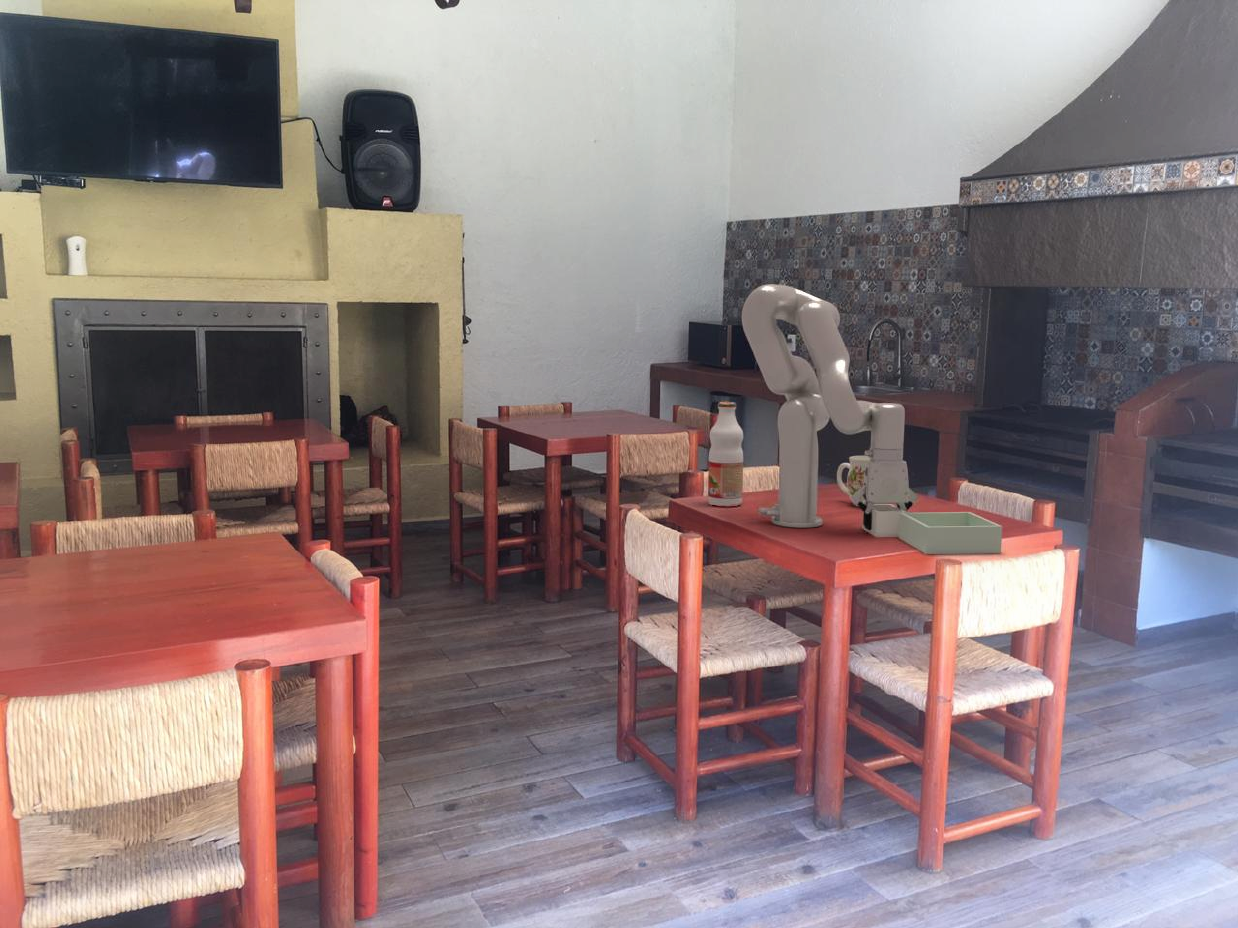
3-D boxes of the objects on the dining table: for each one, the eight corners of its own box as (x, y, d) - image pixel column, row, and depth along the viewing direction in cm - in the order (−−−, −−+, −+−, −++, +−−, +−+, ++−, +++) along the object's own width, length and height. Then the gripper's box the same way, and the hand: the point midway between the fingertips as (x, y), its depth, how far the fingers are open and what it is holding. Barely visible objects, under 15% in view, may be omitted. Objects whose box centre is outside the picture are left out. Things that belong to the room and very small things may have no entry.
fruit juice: (737, 508, 285) (739, 404, 281) (703, 506, 288) (705, 403, 284) (745, 503, 294) (748, 401, 290) (712, 500, 297) (714, 400, 293)
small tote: (876, 537, 250) (877, 511, 250) (862, 528, 260) (863, 504, 259) (904, 536, 251) (906, 511, 250) (890, 528, 261) (891, 504, 260)
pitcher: (848, 498, 302) (850, 450, 300) (903, 507, 289) (905, 457, 287) (824, 503, 295) (826, 454, 293) (880, 512, 282) (882, 460, 280)
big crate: (925, 554, 233) (927, 527, 232) (898, 537, 249) (899, 512, 248) (1000, 553, 234) (1002, 526, 233) (968, 537, 251) (970, 512, 250)
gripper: (855, 457, 248) (853, 532, 251) (928, 457, 250) (924, 531, 253) (846, 453, 256) (843, 526, 258) (916, 453, 257) (912, 525, 260)
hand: (883, 528), depth 255 cm, fingers closed on small tote, 7 cm apart
